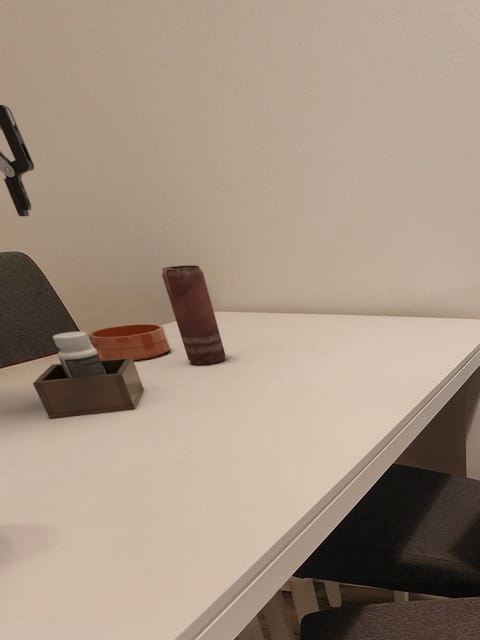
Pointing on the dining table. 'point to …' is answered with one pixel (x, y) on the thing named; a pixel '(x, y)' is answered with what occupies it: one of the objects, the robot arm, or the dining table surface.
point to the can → (194, 314)
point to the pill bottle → (78, 355)
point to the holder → (90, 389)
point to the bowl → (130, 341)
